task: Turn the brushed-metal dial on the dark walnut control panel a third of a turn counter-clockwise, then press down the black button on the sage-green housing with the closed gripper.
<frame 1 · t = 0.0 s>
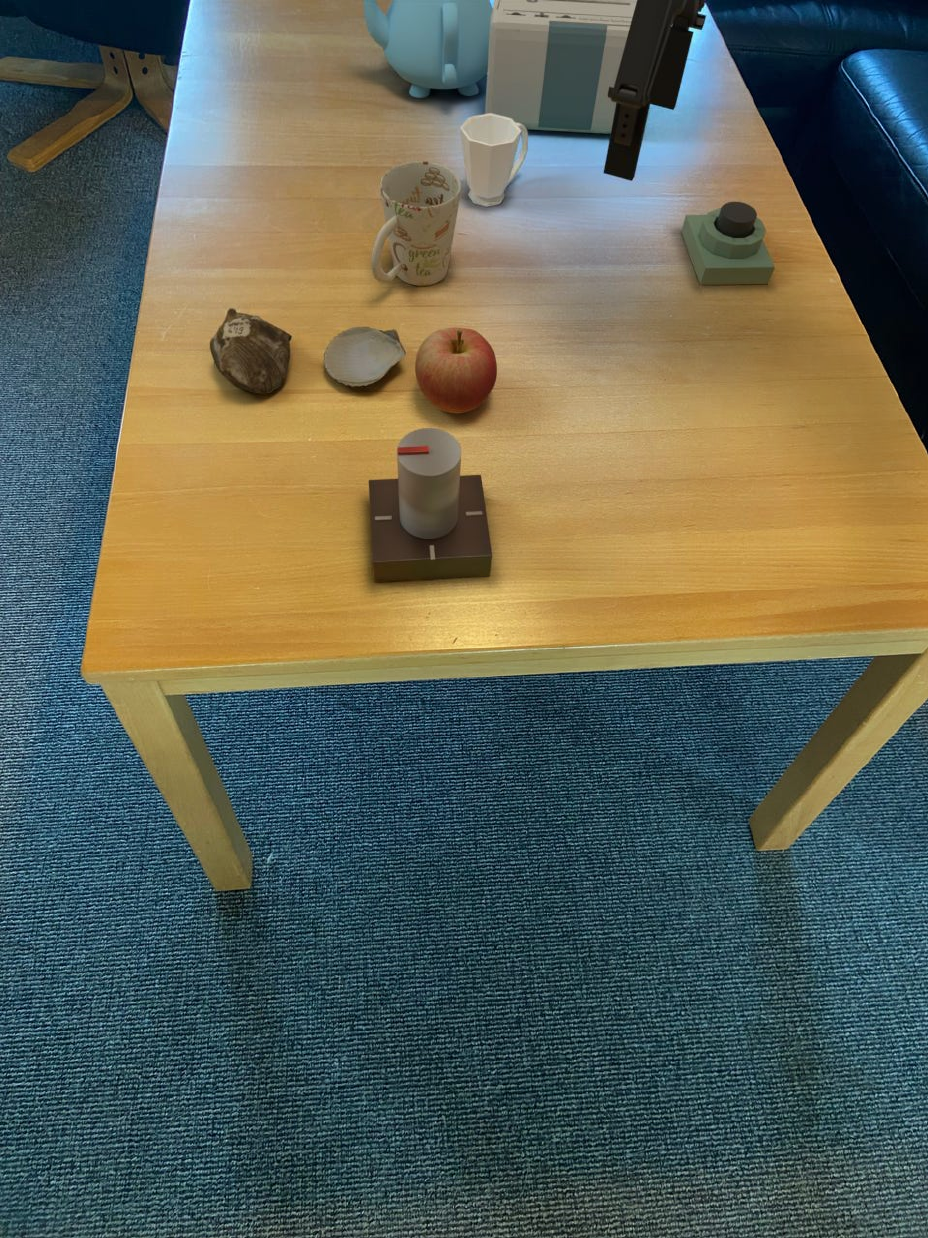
hand: (640, 138, 78), 17 cm above the table, tool pointing down, fingers open, 13 cm apart
mug: (410, 280, 93), on the table
button box: (723, 257, 97), on the table
teapot: (442, 79, 116), on the table
fossilized seashell: (255, 370, 84), on the table
control panel: (428, 537, 74), on the table
apple: (454, 399, 83), on the table
cup: (494, 193, 102), on the table
seashell: (365, 369, 85), on the table
button: (736, 220, 93), point 5 cm above the table, slide at 0.1 cm
white and blue toaster: (562, 123, 111), on the table
dial: (429, 484, 68), point 7 cm above the table, hinge at 0.0°
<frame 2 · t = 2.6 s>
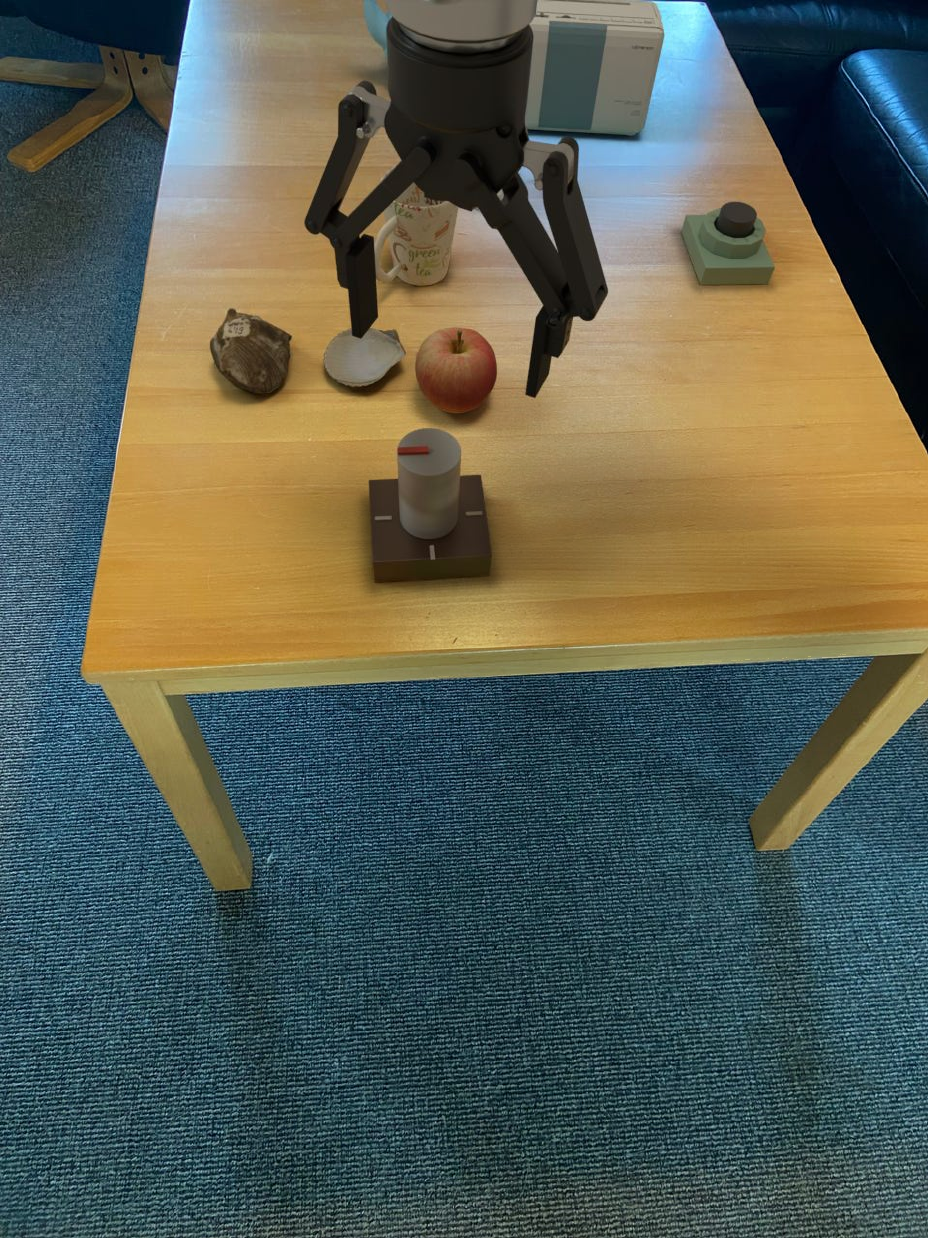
hand: (449, 355, 60), 18 cm above the table, tool pointing down, fingers open, 13 cm apart
nothing on the table moved.
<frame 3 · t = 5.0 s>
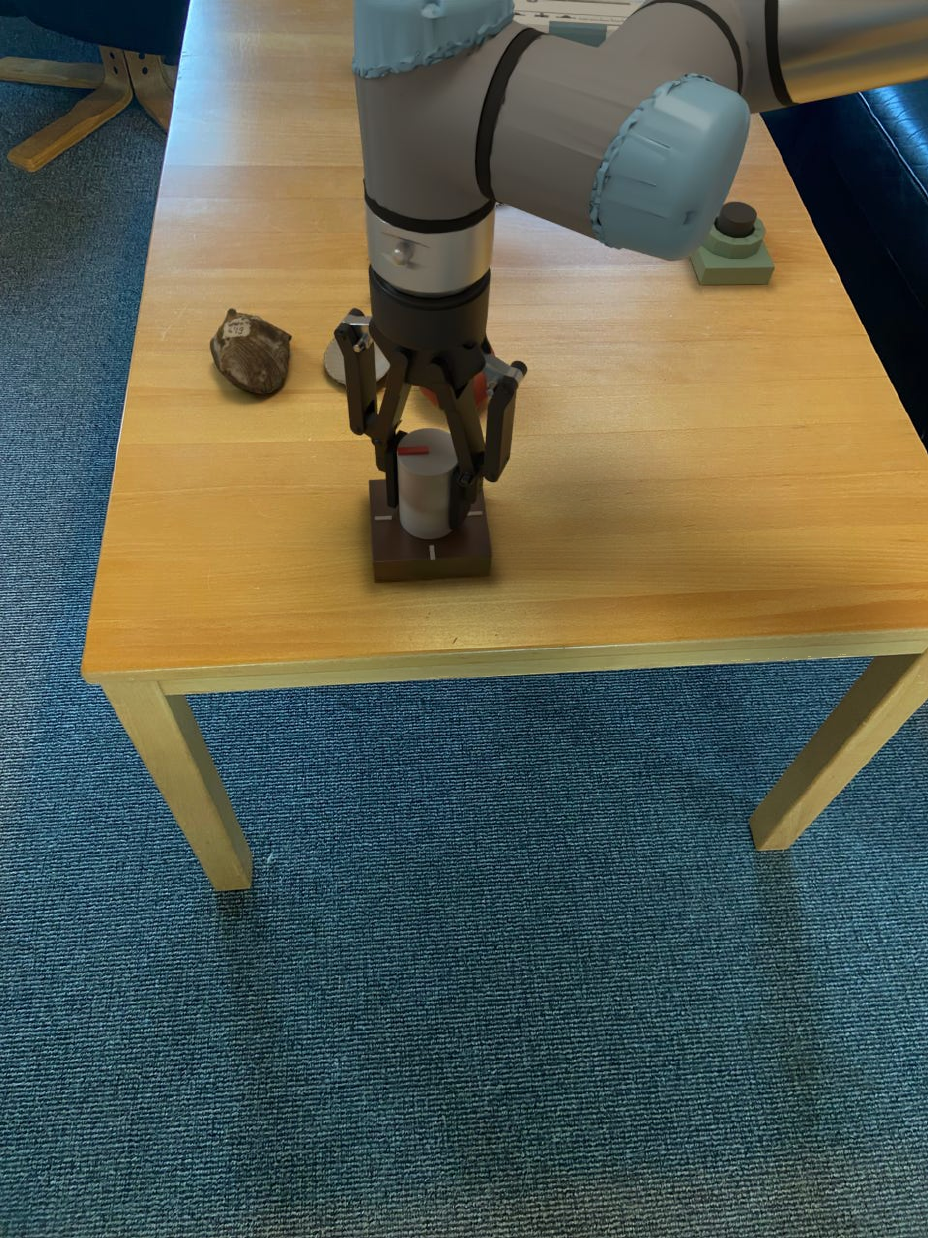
hand: (428, 507, 70), 4 cm above the table, tool pointing down, fingers closed on dial, 5 cm apart
dial: (429, 484, 68), point 7 cm above the table, hinge at 0.0°, touching gripper
everything else where it was.
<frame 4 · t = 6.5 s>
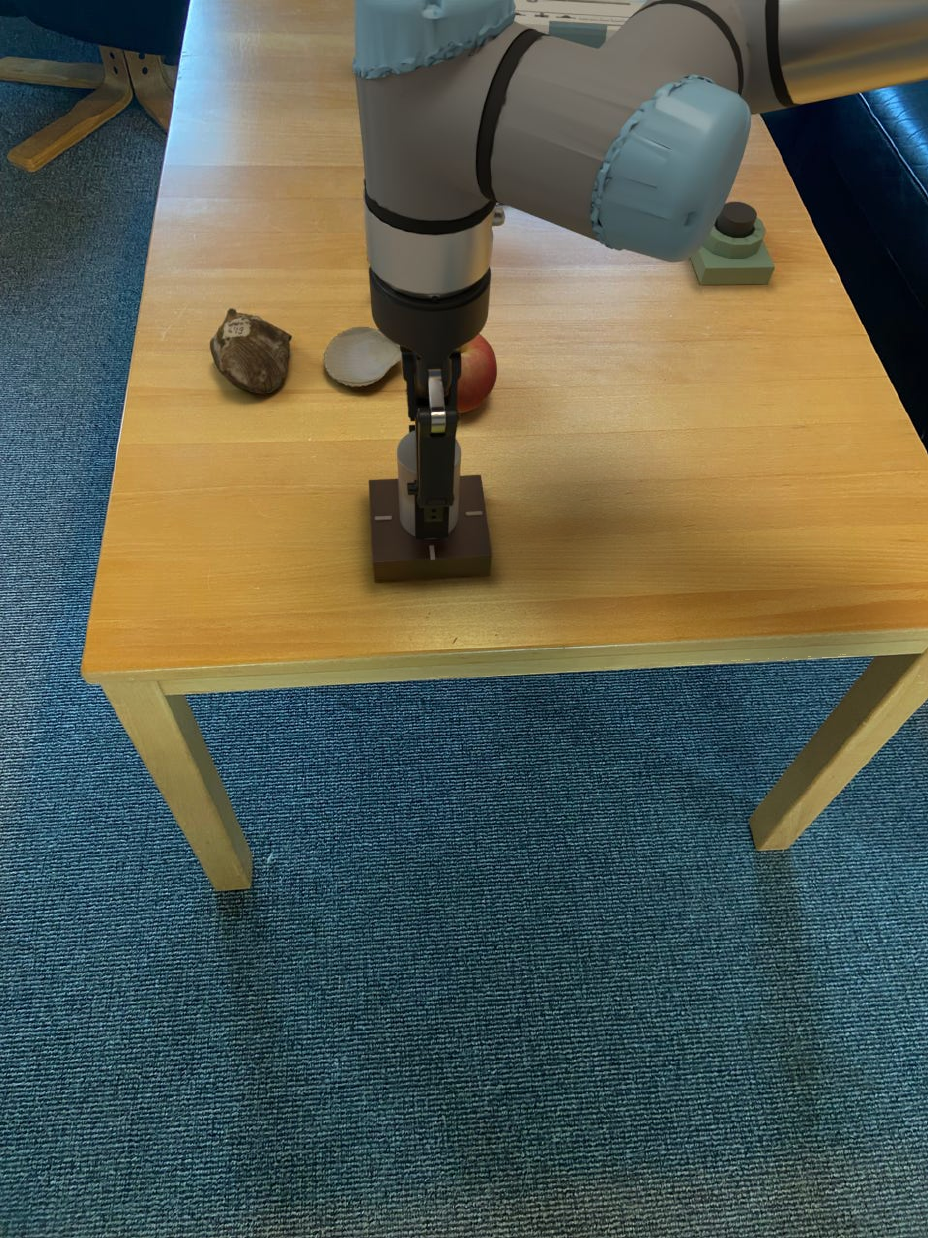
hand: (428, 507, 70), 4 cm above the table, tool pointing down, fingers closed on dial, 5 cm apart
dial: (429, 484, 68), point 7 cm above the table, hinge at 119.3°, touching gripper
everything else where it was.
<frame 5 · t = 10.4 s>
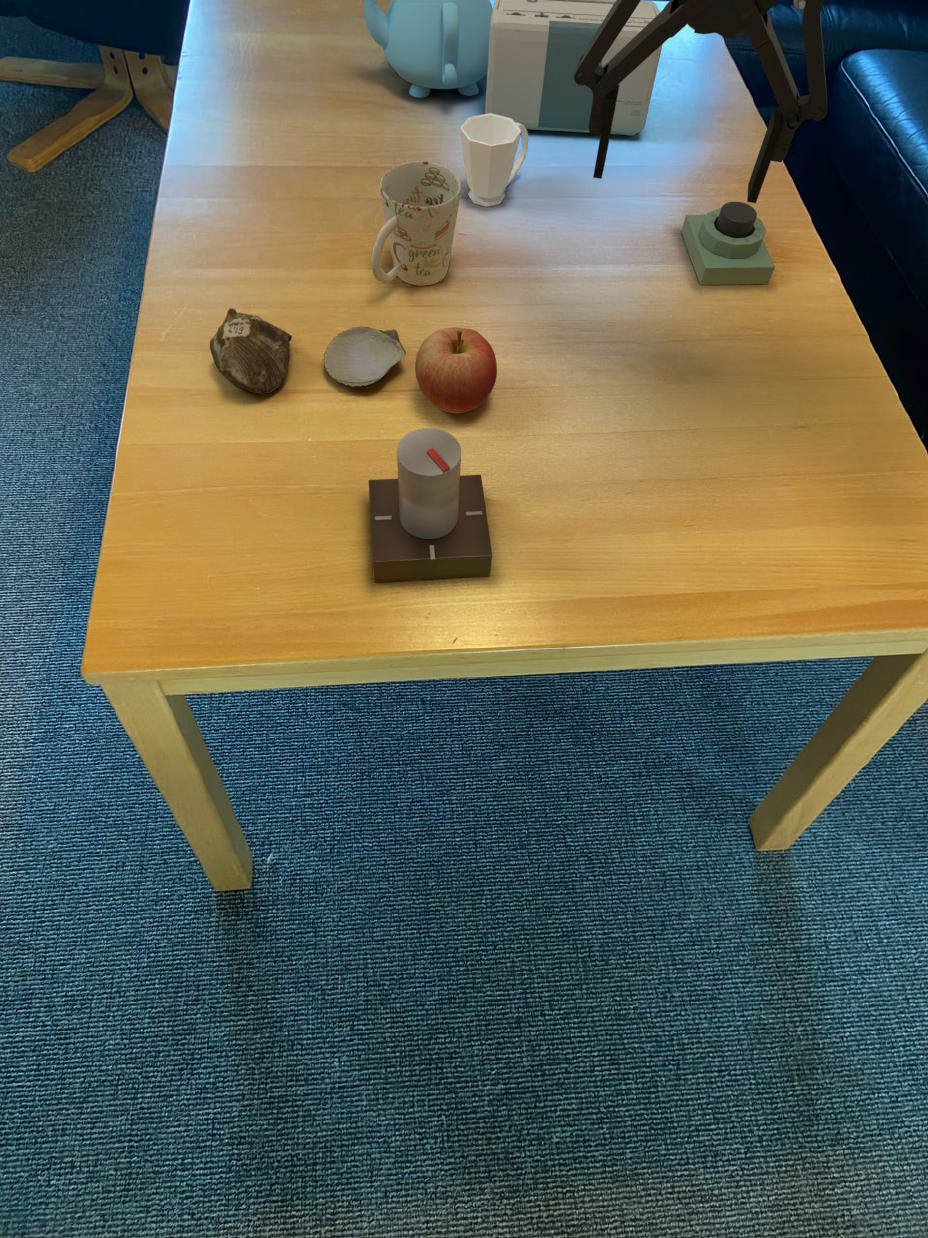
hand: (674, 182, 74), 18 cm above the table, tool pointing down, fingers open, 13 cm apart
dial: (429, 484, 68), point 7 cm above the table, hinge at 118.9°
everything else where it was.
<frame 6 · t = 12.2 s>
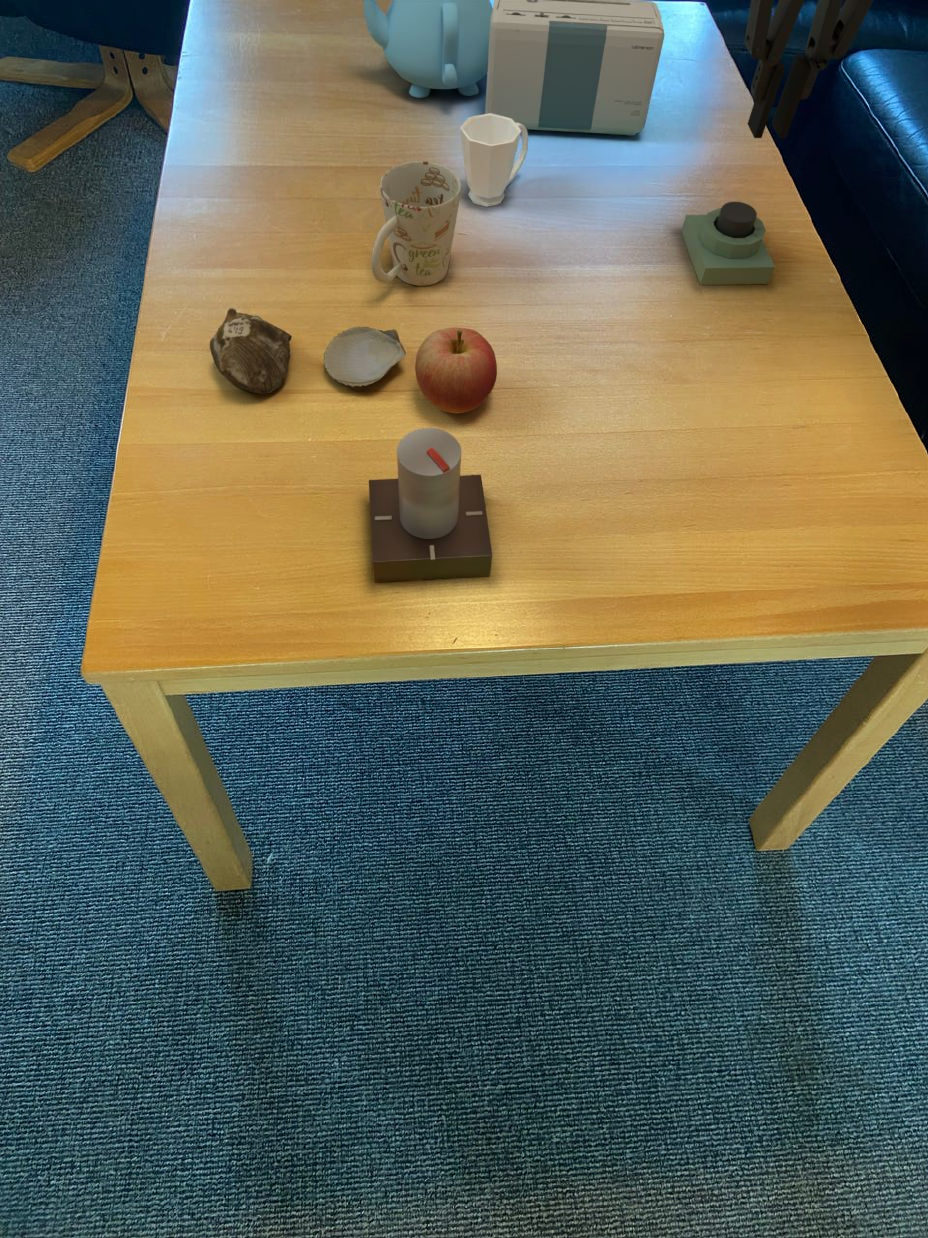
hand: (766, 130, 85), 14 cm above the table, tool pointing down, fingers closed
nothing on the table moved.
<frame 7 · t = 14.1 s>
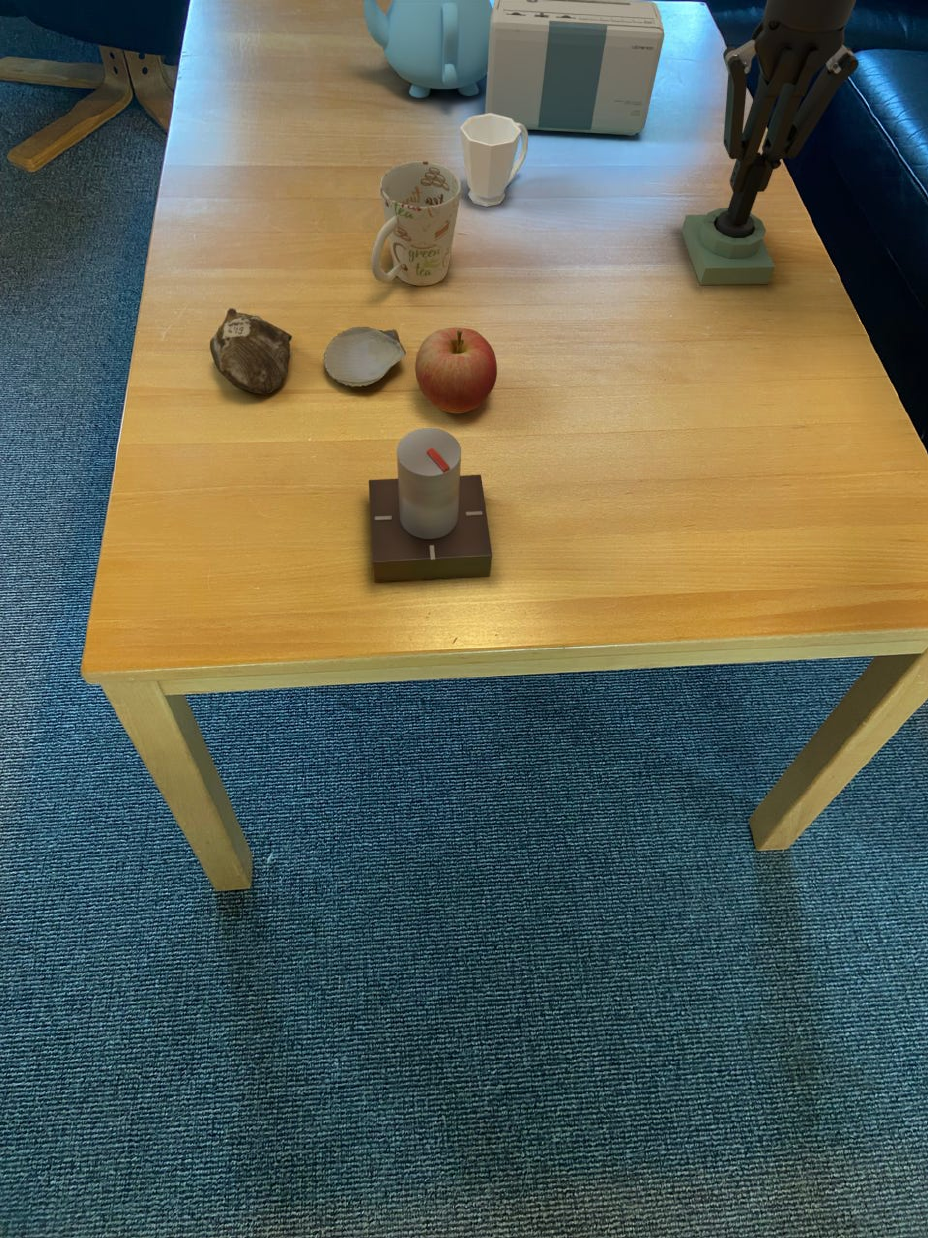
hand: (736, 216, 93), 5 cm above the table, tool pointing down, fingers closed
button: (733, 228, 94), point 4 cm above the table, slide at -0.8 cm, touching gripper
everything else where it was.
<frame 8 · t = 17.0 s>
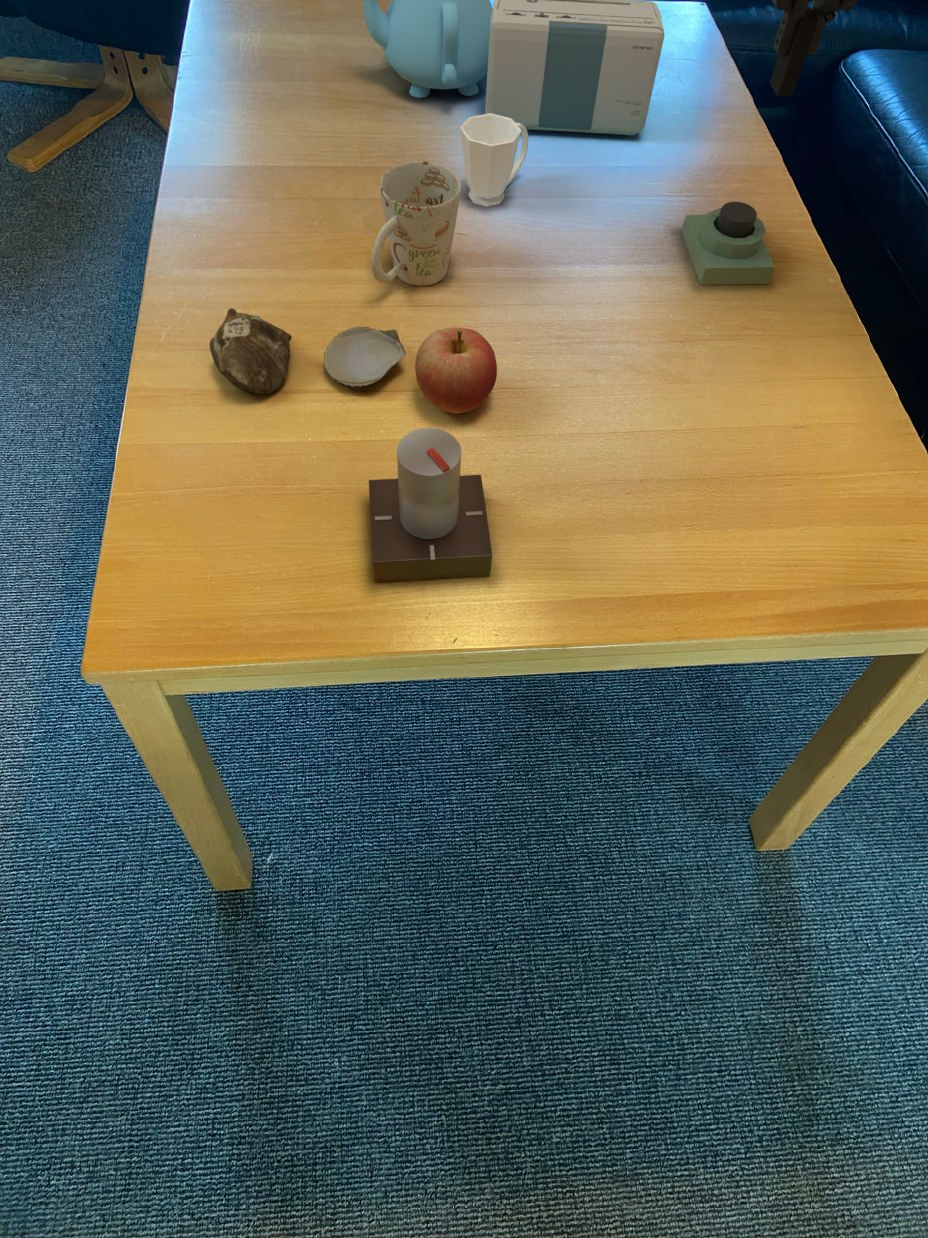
hand: (780, 89, 81), 18 cm above the table, tool pointing down, fingers closed
button: (736, 220, 93), point 5 cm above the table, slide at 0.1 cm
everything else where it was.
at the end: dial at +119° (first picture: +0°); button pushed in 1.0 cm at the most during the clip, back to where it started at the end; button slide at 0.1 cm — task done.
